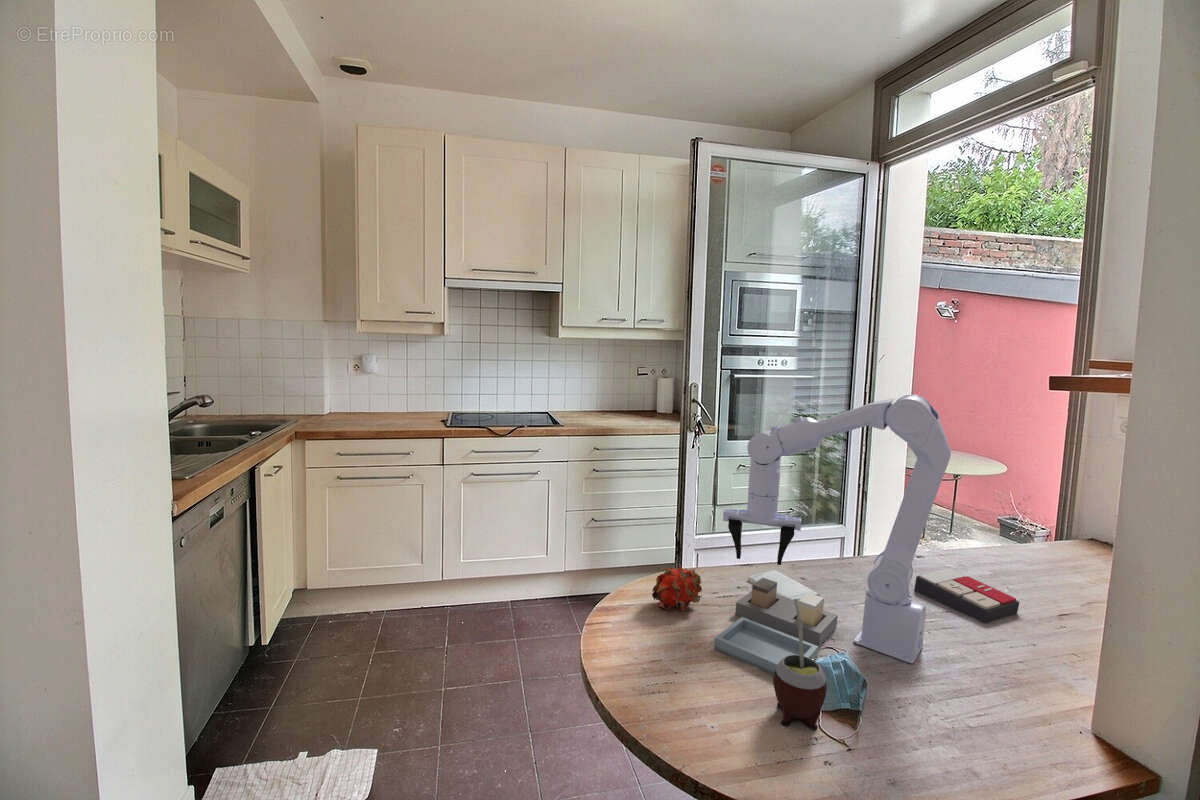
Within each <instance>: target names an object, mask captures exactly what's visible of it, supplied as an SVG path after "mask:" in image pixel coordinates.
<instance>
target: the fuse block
mask: <svg viewBox="0 0 1200 800" xmlns="http://www.w3.org/2000/svg"><path fill="white" fill-rule="evenodd" d="M751 597H752V590H751V591H749V592H748V593H747V594H745V595H744V596H743V597H741V598H740V599H739V600H738V601H736V602H735V615H736V616H738V617H740V618H741V617H744V618H746V619H749V620H751V621H754V622H757V623H759V624H762V625H764V626H767V627H770V628H772V629H775V630H777V631H780V632H782V633H785V634H788V635H790V636H793V637H795V638H798V639H799V629H798V626H797V625H798V624H797V621H798V620H797V611H796V607H795V603H794V600H792V599H790V598H787V597H784V596H781V595H778V594H776V603H775V604H774V605H772V606H771V607H770V608H769V609H765V608H762V607H760V606H757V605H754V604H751ZM837 625H838V614H836V613H833V612H830V611H827V610H824V609H823V615H822V621H821V622H820V623H819V624H818V625H817V626H816V627H814V626H812V625H809V624H806V623H803V628H802V632H803V641H806V642H808V643H811V644H814V645H816V646H818V648H820V647H821V645H822V644H823V643H824V642H825V641H826V640H827V639H828V638H829V636H830V635H831V634H833V632H834V631H835V630H836V629H837V628H838V627H837Z"/></svg>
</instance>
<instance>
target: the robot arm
mask: <svg viewBox="0 0 1200 800" xmlns="http://www.w3.org/2000/svg"><path fill="white" fill-rule="evenodd" d="M895 399H896V398H895V397H893V398H888V399H883V400H879V401H873V402H870V403H867V404H864V405H861V406H859V407H855V408H853V409H849V410H847V411H845V412H841V413H838V414H837V415H836V414H835V415H833V416H830V417H827V418H825V419H822V420H816V419H815V418H812V417H808V416H807V417H804V418H803V416H797V417H795V418H794V419H793V421H792V422H790V423H789V422H788V423H787V424H784V425H780V426H778V425H774V426H770V428H769V430H764V431H762V432H759V433H757V434H756V435H753V436H752V437H751V438H750V440H749V441H748V442H747V447H746V448H747V453H748V456H749V457H750V463H749V464H750V466H749V473H748V475H749V476H748V489H747V504H746V505H747V506H746V509H729V508H724V509H723V515H722V516H723V518H722V521H723V522H728V524H727V527H728V531H729V533H730V535H731V537H732V541H733V544H734V547H735V555H736V559H737V560H740V559H741V557H742V532H743V531H742V530H743V523H745V524H746V523H747V524H752V525H753V524H754V525H761V526H769V527H776V528H780V533H779V534H780V535H779V545H778V550H777V551H778V552H777V560H776V562H777V564H776V565H778V566H781V565H782V562H783V557H784V555H785V552H786V550H787V548H788V546H789V544H790V543H791V542H792V540H793V539H794V536H795V531H799V532H800V531H802V530H801V529H802V518H801V517H796V516H791V515H786V514H783V513H782V514H781V513H778V509H779V495H780V481H781V460H782V458H781V457H789V456H792V455H797V454H799V453H803V452H807V451H810V450H813V449H817V448H819V447H820V446H821V445H822V443H823V440H824V439H825V438H827V437H831V436H835V435H838V434H842V433H845V432H846V433H847V432H850V431H854V430H856V429H860V428H864V427H872V428H875V429H879V430H882V431H884V430H885V429H886V428H887V427H888V428H889V429H890V431H892V432H893V434H895V435H896V436H898V437H899V438H900V439H901V440H903V441H904V442H905V443H907V445H908V447H909V448H910V450H911V451H912V453H913V454H914V455H915V456H916V461H915V463H914V467H913V469H912V472H911V475H910V478H909V481H908V483H907V486H906V489H905V492H904V495H903V497H902V500H901V503H900V506H899V509H898V510H897V511H898V512H897V515H896V516H895V520H894V523H893V526H892V528H891V530H890V534H889V537H888V540H887V543H886V545H885V548H884V550H883V551H882V552H881V553H879V554H878V555H877V556H876V557H875V560H874V562H873V567H872V570H871V571H870V572H869V574H868V576H867V586H866V589H865V597H864V598H865V599H864V608H863V609H864V610H863V618H862V625H861V626H862V627H861V630H860V632H859V633H858V634H857V635H856V637H855V638H854V639H853V642H854V644H857V645H860V646H862V647H865V648H868V649H871V650H873V651H876V652H879V653H881V654H884V655H886V656H887V655H888V656H890V657H892V658H895V659H897V660H899V661H904V662H906V663H908V664H914V662H915V661H916V659H917V657H918V655H919V653H920V651H921V650H922V648H923V647H924V635H925V634H924V633H925V625H926V624H925V623H926V616H927V609H926V608H927V607H926V606H925V605H923V604H920V603H918V602H916V601H915V600H914V599H913V595H912V594H911V592H910V584H911V583H910V582H911V579H912V577H913V573H914V567H913V560H914V557H915V554H916V551H917V549H918V546H919V543H920V541H921V539H922V538H921V537H922V536H923V533H924V531H925V528H926V524H927V521H928V519H929V517H930V513H931V511H932V508H933V506H934V503H935V501H936V497H937V495H938V491H939V489H940V487H941V484H942V482H943V478H944V476H945V474H946V470H947V467H948V465H949V463H950V460H951V455H952V453H951V452H952V451H951V446H950V444H949V441H948V439H947V436H946V433H945V430H944V427H943V425H942V421H941V418H940V415H939V413H938V411H937V410H936V409H935V408H934V407H933V405H932V404H931V403H930V401H928V400H927V399H926V398H925V397H923V396H921V395H918V394H906V395H903V396H900V398H898V399H896V401H895ZM894 401H895V402H894Z"/></svg>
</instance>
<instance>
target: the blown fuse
mask: <svg viewBox="0 0 1200 800" xmlns="http://www.w3.org/2000/svg"><path fill="white" fill-rule="evenodd" d="M751 585H752V587H751V591H752V597H751V604H754V605H757V606H760V607H762V608H765V609H769V608H770V607H771V606H772V605H774V604H775V603H776V591H777V582H774V581H771V580H768V579H765V578H761V579H760V580H759V581H757V582H756V583H754V584H753V583H752V584H751Z"/></svg>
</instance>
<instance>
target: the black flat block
mask: <svg viewBox="0 0 1200 800" xmlns="http://www.w3.org/2000/svg"><path fill="white" fill-rule="evenodd" d="M913 591H914V592H916V593H918V594H920V595H922V596H924V597H926V598H929V599H931V600H935V601H936V602H938V603H941V604H942V605H945V606H946V607H948V608H949V609H953V610H954V611H957V612H959V613H960V614H963V615H965V616H967V617H969V618H971V619H973V620H975V621H978V622H979V623H982V624H989V623H992V622H995V621H998V620H1001V619H1006V618H1009V617H1011V616H1015V615H1018V612H1019V606H1020V601H1018V600H1017V598H1016V597H1014V596H1012V595H1010V594H1008V593H1006V592H1003V591H1001V590H998V589H997V588H996V587H992V586H990V585H987V584H986V583H984V582H982V581H980V580H977V579H975V578H973V577H970V576H965V575H964V574H962V573H961V572H957V571H956V570H954V569H952V568H946V569H941V570H937V571H934V572H933V571H932V572H928V573H922V574H920V575H917V576H916V578H915V583H914V589H913Z"/></svg>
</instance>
